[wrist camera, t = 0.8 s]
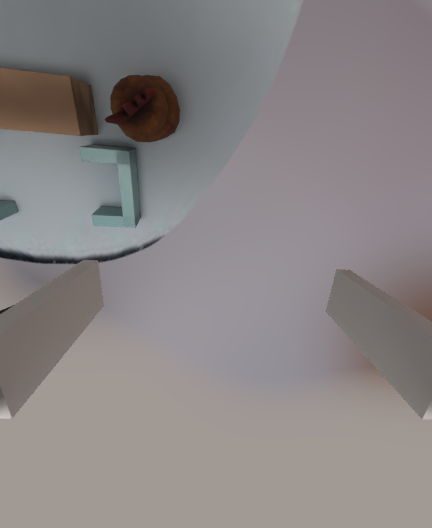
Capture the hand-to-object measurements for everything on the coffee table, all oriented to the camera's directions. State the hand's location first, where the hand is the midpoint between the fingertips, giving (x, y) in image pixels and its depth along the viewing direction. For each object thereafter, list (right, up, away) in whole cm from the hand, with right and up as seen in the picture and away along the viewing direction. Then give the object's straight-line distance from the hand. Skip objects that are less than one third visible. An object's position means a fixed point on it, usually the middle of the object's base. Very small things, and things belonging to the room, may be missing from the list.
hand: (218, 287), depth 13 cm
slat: (-24, +20, +14) cm, 35 cm away
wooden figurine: (-8, +20, +16) cm, 27 cm away
